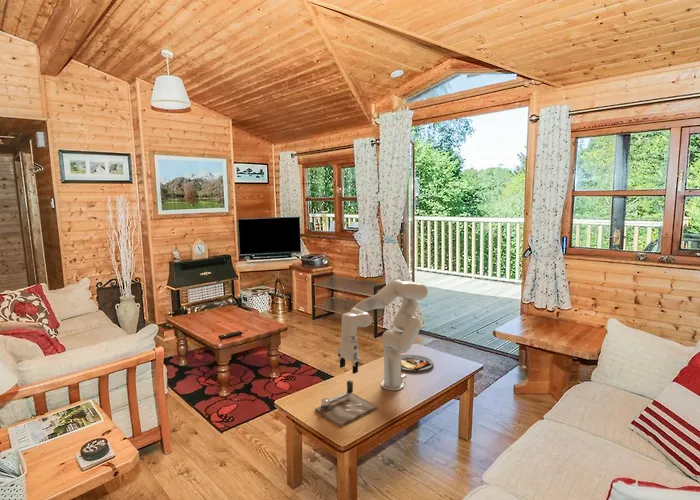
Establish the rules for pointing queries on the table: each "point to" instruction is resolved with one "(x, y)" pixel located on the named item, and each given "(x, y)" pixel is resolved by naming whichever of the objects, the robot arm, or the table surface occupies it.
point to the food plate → (415, 363)
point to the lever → (327, 402)
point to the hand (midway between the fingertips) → (348, 369)
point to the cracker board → (346, 410)
